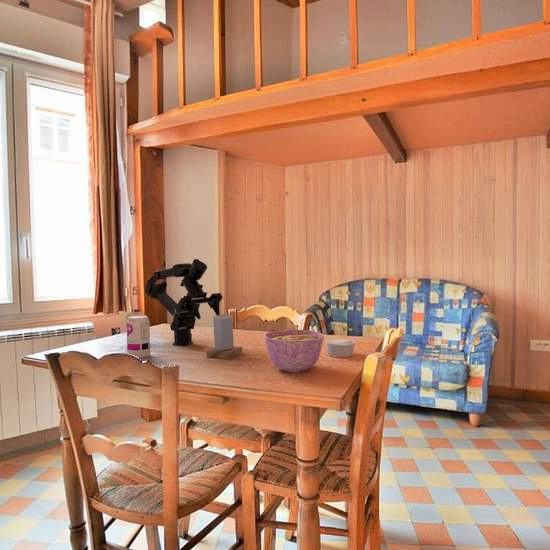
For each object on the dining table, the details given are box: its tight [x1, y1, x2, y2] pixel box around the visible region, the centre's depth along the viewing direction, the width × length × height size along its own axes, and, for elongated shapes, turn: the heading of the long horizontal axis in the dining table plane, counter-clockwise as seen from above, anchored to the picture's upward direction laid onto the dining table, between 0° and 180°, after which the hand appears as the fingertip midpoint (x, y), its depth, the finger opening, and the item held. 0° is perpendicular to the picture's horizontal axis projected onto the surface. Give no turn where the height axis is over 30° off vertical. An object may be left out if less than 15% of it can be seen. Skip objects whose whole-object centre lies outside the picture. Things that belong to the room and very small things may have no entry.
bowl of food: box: [263, 329, 325, 373], centre depth 149 cm, size 20×20×12 cm
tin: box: [212, 313, 235, 351], centre depth 169 cm, size 5×5×12 cm
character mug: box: [124, 311, 143, 330], centre depth 192 cm, size 11×7×13 cm, turn 44°
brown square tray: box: [205, 345, 243, 360], centre depth 170 cm, size 10×10×3 cm
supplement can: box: [126, 314, 151, 359], centre depth 169 cm, size 8×8×15 cm
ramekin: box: [324, 338, 356, 358], centre depth 169 cm, size 11×11×5 cm
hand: (209, 317), depth 175 cm, fingers open, 9 cm apart
